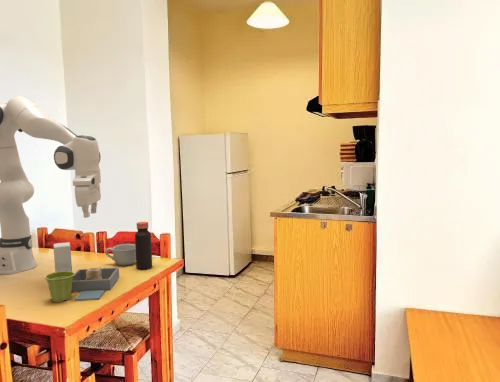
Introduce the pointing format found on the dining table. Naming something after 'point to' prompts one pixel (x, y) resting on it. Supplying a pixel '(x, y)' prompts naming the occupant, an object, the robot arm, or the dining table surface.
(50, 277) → the plant pot
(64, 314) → the dining table surface
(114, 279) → the bin
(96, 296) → the pad
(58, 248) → the small box
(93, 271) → the block
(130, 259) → the teacup
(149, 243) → the bottle
